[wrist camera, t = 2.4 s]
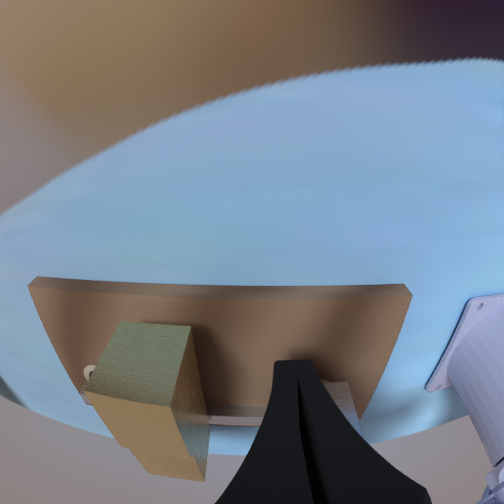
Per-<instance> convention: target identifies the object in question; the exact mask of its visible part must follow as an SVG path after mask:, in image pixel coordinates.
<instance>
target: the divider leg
mask: <svg viewBox="0 0 504 504" xmlns="http://www.w3.org/2000/svg"><path fill="white" fill-rule="evenodd" d="M83 391H84V392H85V394H86V396H87V397H88V399H89V401H90V402H91V404H92V405H93V407H94V408H95V410H96V411H97V413H98V414H99V416H100V417H101V419H102V420H103V422H104V423H105V425H106V426H107V428H108V429H109V430H110V432H111V433H112V434H113V436H114V437H115V439H116V440H117V441H118V442H119V444H120V445H121V446H122V447H125V448H129V449H130V451H131V452H132V453H133V454H134V456H135V457H136V458H137V460H138V461H139V462H140V463H141V464H142V466H143V467H144V468H145V469H146V471H147V472H148V473H151V474H156V475H162V476H167V477H173V478H180V479H187V480H195V481H205V474H206V465H207V455H208V447H209V439H210V430H211V429H210V425H209V420H208V415H207V411H206V406H205V401H204V396H203V391H202V386H201V381H200V376H199V370H198V365H197V359H196V353H195V347H194V341H193V335H192V328H191V326H179V325H163V324H150V323H138V322H128V321H120V323H119V325H118V327H117V328H116V330H115V332H114V334H113V335H112V337H111V339H110V341H109V343H108V344H107V346H106V348H105V350H104V352H103V354H102V355H101V357H100V359H99V361H98V363H97V365H96V367H95V369H94V371H93V372H92V374H91V376H90V378H89V380H88V382H87V384H86V386H85V388H84V390H83Z"/></svg>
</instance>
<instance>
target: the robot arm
mask: <svg viewBox="0 0 504 504" xmlns="http://www.w3.org/2000/svg"><path fill="white" fill-rule="evenodd" d="M451 386H454V388H455V390H456V391H457V393H458V395H459V397H460V399H461V401H462V403H463V404H464V406H465V408H466V410H467V412H468V414H469V416H470V418H471V420H472V422H473V424H474V426H475V428H476V430H477V432H478V435H479V437H480V439H481V441H482V443H483V445H484V448H485V450H486V452H487V455H488V457H489V459H490V462H491V464H492V466H493V467H496V466H497V467H496V468H495V469H494V470H492V471H491V472H490V473H489V474H487V475H486V476H485V477H486V480H487V483H488V485H487V487H486V488H485V491H484V493H483V496H482V499H481V501H479V502H478V503H476V504H504V294H496V295H489V296H481V297H474V298H472V299H471V300H470V301H469V302H468V303H467V305H466V308H465V310H464V313H463V315H462V317H461V320H460V322H459V324H458V326H457V329H456V331H455V333H454V335H453V337H452V339H451V341H450V343H449V345H448V347H447V349H446V351H445V353H444V355H443V357H442V359H441V361H440V363H439V364H438V366H437V368H436V370H435V372H434V373H433V375H432V377H431V379H430V380H429V382H428V384H427V385H426V390H427V392H434V391H437V390H441V389H445V388H448V387H451ZM215 504H432V502H431V499H430V496H429V494H428V492H427V490H426V488H425V487H423V486H421V485H420V484H418V483H416V482H415V481H413V480H412V479H410V478H409V477H407V476H406V475H404V474H403V473H401V472H400V471H399V470H397V469H396V468H395V467H393V466H392V465H391V464H390V463H389V462H387V461H386V460H385V459H384V458H383V457H382V456H381V455H379V454H378V453H377V452H376V451H375V450H374V449H373V448H372V447H371V446H370V445H369V444H368V443H367V442H366V441H365V440H364V439H363V438H362V436H361V435H360V434H359V433H358V432H357V431H356V430H355V428H354V427H353V426H352V425H351V424H350V422H349V421H348V420H347V418H346V417H345V416H344V414H343V413H342V412H341V410H340V409H339V407H338V406H337V405H336V403H335V402H334V400H333V398H332V397H331V395H330V394H329V392H328V391H327V389H326V387H325V386H324V384H323V382H322V380H321V379H320V377H319V375H318V373H317V371H316V369H315V367H314V365H313V363H312V361H311V360H310V359H307V360H277V361H275V362H274V368H273V380H272V390H271V394H270V398H269V402H268V405H267V409H266V412H265V414H264V417H263V420H262V423H261V425H260V428H259V430H258V433H257V435H256V437H255V439H254V442H253V444H252V446H251V448H250V450H249V452H248V454H247V456H246V458H245V459H244V461H243V463H242V465H241V467H240V468H239V470H238V471H237V473H236V475H235V476H234V478H233V479H232V481H231V482H230V484H229V485H228V487H227V488H226V490H225V491H224V493H223V494H222V495H221V496H220V498H219V499H218V500H217V502H216V503H215Z"/></svg>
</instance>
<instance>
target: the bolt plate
mask: <svg viewBox="0 0 504 504" xmlns="http://www.w3.org/2000/svg"><path fill="white" fill-rule="evenodd" d="M28 289H29V291H30V294H31V297H32V299H33V302H34V304H35V307H36V309H37V312H38V314H39V317H40V319H41V321H42V324H43V326H44V328H45V330H46V332H47V335H48V337H49V339H50V341H51V343H52V345H53V347H54V349H55V351H56V353H57V355H58V357H59V359H60V361H61V363H62V364H63V366H64V368H65V370H66V372H67V373H68V375H69V377H70V379H71V380H72V382H73V384H74V386H75V387H76V389H77V390H78V392H79V394H80V392H81V390H82V388H83V386H84V385H86V384H87V382H88V380H89V378H90V376H91V374H92V372H93V371H94V369H95V367H96V365H97V363H98V361H99V359H100V357H101V355H102V354H103V352H104V350H105V348H106V346H107V344H108V343H109V341H110V339H111V337H112V335H113V334H114V332H115V330H116V328H117V327H118V325H119V323H120V321H128V322H138V323H150V324H163V325H179V326H191V328H192V335H193V341H194V347H195V353H196V359H197V365H198V370H199V376H200V381H201V386H202V391H203V396H204V401H205V404H212V405H232V406H267V405H268V402H269V398H270V394H271V390H272V380H273V368H274V362H275V361H277V360H307V359H310V360H311V361H312V363H313V365H314V367H315V369H316V371H317V373H318V375H319V377H320V379H321V380H322V382H323V383H331V382H343V381H347V382H348V385H349V389H350V392H351V395H352V399H353V403H354V406H355V410H356V413H357V417H358V419H361V417H362V415H363V413H364V411H365V409H366V407H367V405H368V403H369V401H370V399H371V397H372V395H373V393H374V391H375V389H376V387H377V385H378V383H379V381H380V379H381V376H382V374H383V372H384V370H385V367H386V365H387V363H388V360H389V358H390V356H391V353H392V351H393V348H394V346H395V343H396V341H397V338H398V336H399V333H400V330H401V328H402V325H403V322H404V319H405V316H406V314H407V311H408V308H409V305H410V302H411V298H412V294H411V292H410V291H409V290H408V289H407V287H406V286H405V285H404V284H386V285H349V286H217V285H179V284H151V283H129V282H109V281H92V280H77V279H62V278H49V277H36V278H35V279H34V280H33V281H32V282H31V283H30V284H29V285H28ZM86 404H88V403H86ZM88 405H91V404H88ZM92 406H93V405H92ZM209 425H220V424H209ZM221 426H247V425H221ZM254 427H260V426H254Z"/></svg>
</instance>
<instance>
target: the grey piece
mask: <svg viewBox="0 0 504 504" xmlns="http://www.w3.org/2000/svg"><path fill="white" fill-rule="evenodd" d="M323 384H324V386H325V387H326V389H327V391H328V392H329V394H330V395H331V397H332V398H333V400H334V402H335V403H336V405H337V406H338V407H339V409H340V410H341V412H342V413H343V414H344V416H345V417H346V418H347V420H348V421H349V422H350V424H351V425H352V426H353V427H354V428H355V430H356V431H357V432H358V433H359V434H360V435H361V436H362V432H361V428H360V424H359V421H358V417H357V413H356V410H355V406H354V403H353V399H352V395H351V392H350V389H349V385H348V382H347V381H343V382H331V383H323ZM85 386H86V385H84V386H83V388H82V390H81V392H80V395H81V397H82V398H83V400H84V402H85V403H88V404H91V402H90V401H89V399H88V397H87V396H86V394H85V392H84V391H83V390H84V388H85ZM91 405H92V404H91ZM205 406H206V411H207V415H208V420H209V424H220V425H247V426H260V425H261V423H262V420H263V417H264V414H265V412H266V409H267V406H232V405H212V404H205ZM362 438H363V436H362Z"/></svg>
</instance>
